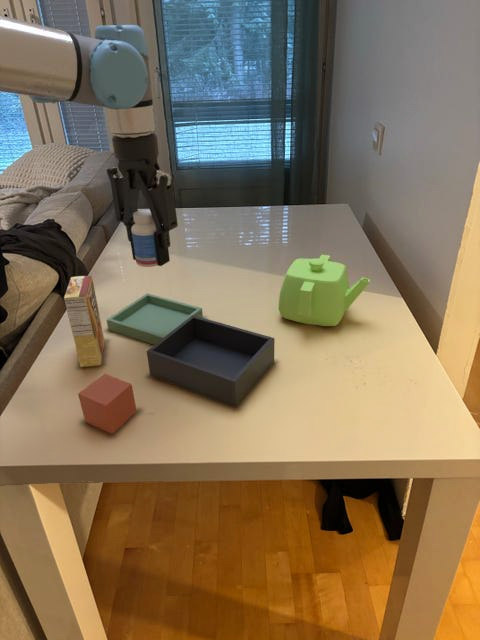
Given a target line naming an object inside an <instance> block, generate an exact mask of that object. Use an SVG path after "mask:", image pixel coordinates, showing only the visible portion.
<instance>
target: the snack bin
mask: <svg viewBox="0 0 480 640" xmlns="http://www.w3.org/2000/svg"><path fill="white" fill-rule="evenodd" d="M275 340H276V339H275V337H272V336H269V335H265V334H262V333H257V332H254V331H251V330H247V329H244V328H241V327H236V326H233V325H230V324H226V323H223V322H220V321H215V320H213V319H208V318H205V317H203V318H202V317H198V316H194V315H192V316H191V317H189V318H188V319H187V320H185V321H184V322H183V323H182V324H180V325H179V326H178V327H177V328H175V329H174V330H173V331H172V332H170V333H169V334H168V335H167V336H165V337H164V338H163V339H161V340H160V341H159V342H158V343H156V344H155V345H152V346H151V347H149V349H148V350H146V357H147V364H148V370H149V376H150V377H152V378H155V379H157V380H161V381H163V382H165V383H169V384H171V385H174V386H176V387H179V388H182V389H185V390H187V391H190V392H193V393H196V394H198V395H201V396H203V397H205V398H209V399H211V400H214V401H216V402H219V403H222V404H225V405H228V406H231V407H233V408H237V407H238V406H239V405H240V404H241V403H242V402H243V400H244V399H246V397H247V395H249V393H250V392H251V391H252V390H253V389H254V387H255V386H256V385H257V384H258V383H259V381H260V380H261V379H262V378H263V376H264V375H265V374H266V373H267V371H269V369H270V368H271V367H272V366H273V365H274V364H275V343H276V342H275Z"/></svg>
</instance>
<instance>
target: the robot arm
mask: <svg viewBox="0 0 480 640" xmlns="http://www.w3.org/2000/svg"><path fill="white" fill-rule="evenodd" d="M149 61H150V56H149V53H148V46H147V41H146V36H145V31H144V30H143V29H142V27H140V26H139V25H137V24H112V25H107V24H106V25H98V26H96V27H95V28H94V37H91V36H85V35H82V34H78V33H72V32H67V31H65V30H62V29H58V28H54V27H50V26H46V25H42V24H38V23H34V22H29V21H26V20H22V19H18V18H13V17H10V16H5V15H1V14H0V92H1V93H9V94H16V95H22V96H28V98H29V99H30V100H31V101H33V102H34V103H37V104H48V103H50V104H56V103H61V102H69V103H74V104H75V103H76V104H81V105H89V106H95V107H101V108H105V109H106V110H107V118H108V124H109V131H110V133H112V134H114V135H113V136H112V137H111V141H112V148H113V155H114V158H115V159H116V160H118V164H117V165H115V166H113V167H109V168H107V169H106V174H107V176H108V179H109V182H110V188H111V194H112V201H113V208H114V215H115V220H116V221H117V222H118V223H122V224H123V225H124V227H125V229H126V236H127V240H128V242H129V243H130V248H131V252H132V253H131V255H132V260H134V261H136V258H135V251H134V244H133V237H132V231H131V228H132V226H133V225H134V224H135V222H134V218H133V213H134V212H136V211H139V201H140V192H141V195H142V196H143V197H144V198H145V200H146V203H147V206H148V208H149V209H148V210H150V212H151V215H152V218H153V221H154V223H155V226H156V229H157V231H155V232H154V240H155V247H156V255H157V263H158V265H157V267H162V266H164V265H166V264H167V263H169V262H170V261H171V259H170V258H171V257H170V252H169V251H170V250H169V248H170V247H171V238H170V232H171V231H172V230H174V229H176V228H177V227H178V225H179V224H178V215H177V208H176V201H175V194H174V181H175V175H174V173H173V172H168V173H167V172H165V171H163V170H161V167H160V165H159V163H158V157H159V154H160V153H159V142H158V135H157V134H156V133H155V132H154V131H155V130H156V128H157V127H156V126H157V125H156V119H155V118H156V117H155V108H154V101H153V92H152V81H151V80H152V79H151V71H150V63H149Z"/></svg>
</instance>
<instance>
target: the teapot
mask: <svg viewBox="0 0 480 640" xmlns="http://www.w3.org/2000/svg"><path fill="white" fill-rule="evenodd" d="M370 281H371V279H370V278H366V277H363V276H361V278H360V279H358V281H356V282H355V283H354V284H353V285H351V287H350V282H349V277H348V271H347V267H346V265H345V264H343V263H340V262H337V261H331V255H328V254H320V256H319V257H318V258H296V259H295V260H294V261H293V262H292V263H291V265H290V266H289V267H288V269H287V271H286V273H285V275H284V278H283V281H282V284H281V286H280V287H281V288H280V291H279V297H278V311H279V313H280V316H281V317H282V318H284V319H286V320H289V321H293V322H296V323H301V324H305V325H313V326H321V327H335V326H337V325H339V323H340V322H341V320H342V318H343V316H344V314H345V313H346V310H348V309H349V308H350V307H351V306H352V305H353V303H354V302H355V301H356V300H357V298H359V296H360V295H361V294H362V292H363V291H364V290H365V289H366V288H367V287H368V285H369V284H370Z"/></svg>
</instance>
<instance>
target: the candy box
mask: <svg viewBox="0 0 480 640" xmlns="http://www.w3.org/2000/svg"><path fill="white" fill-rule="evenodd" d="M68 282H69V283H68V285H67V288H66V291H65V293H64V296H63V301H64V304H65V309H66V312H67V316H68V320H69V325H70V328H71V333H72V337H73V341H74V346H75V350H76V354H77V358H78V362H79V366H80V368H87V367H96V366H101V365H102V360H103V355H104V348H105V341H106V339H105V336H104V331H103V326H102V320H101V315H100V311H99V306H98V300H97V295H96V289H95V284H94V280H93V276H92V275H78V276H71V277H70V280H69V281H68Z"/></svg>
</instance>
